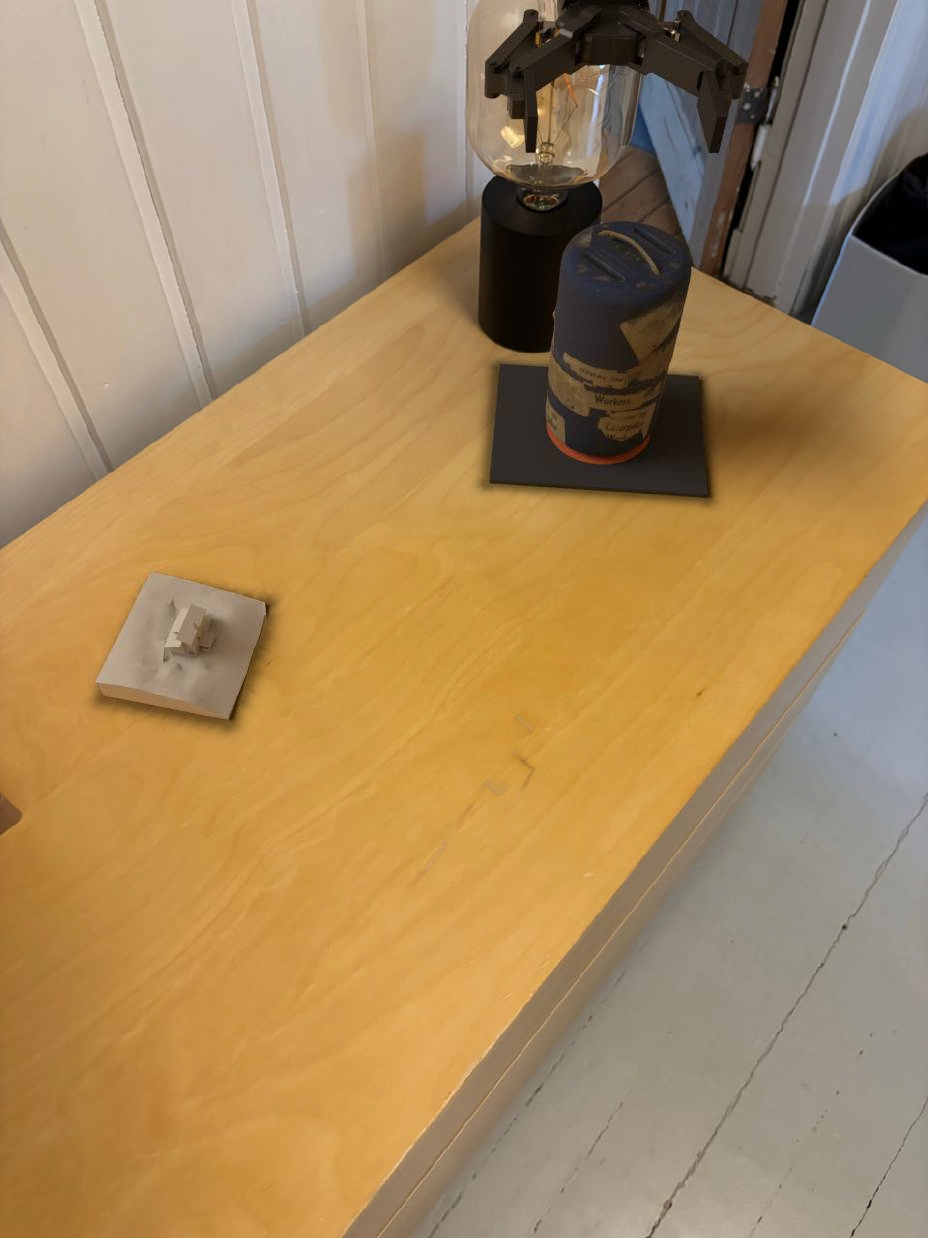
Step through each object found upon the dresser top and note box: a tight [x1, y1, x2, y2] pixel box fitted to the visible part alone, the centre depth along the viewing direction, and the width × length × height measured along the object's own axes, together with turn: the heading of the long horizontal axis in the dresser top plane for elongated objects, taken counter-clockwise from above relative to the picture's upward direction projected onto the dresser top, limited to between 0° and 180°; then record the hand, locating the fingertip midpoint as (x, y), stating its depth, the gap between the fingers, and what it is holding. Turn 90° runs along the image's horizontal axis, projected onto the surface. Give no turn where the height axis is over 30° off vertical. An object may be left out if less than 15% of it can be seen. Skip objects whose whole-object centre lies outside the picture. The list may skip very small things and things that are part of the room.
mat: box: [488, 363, 709, 498], centre depth 81 cm, size 18×14×1 cm
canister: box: [546, 220, 692, 456], centre depth 73 cm, size 10×10×18 cm
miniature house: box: [94, 571, 267, 721], centre depth 67 cm, size 12×11×4 cm
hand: (625, 135), depth 68 cm, fingers open, 13 cm apart
